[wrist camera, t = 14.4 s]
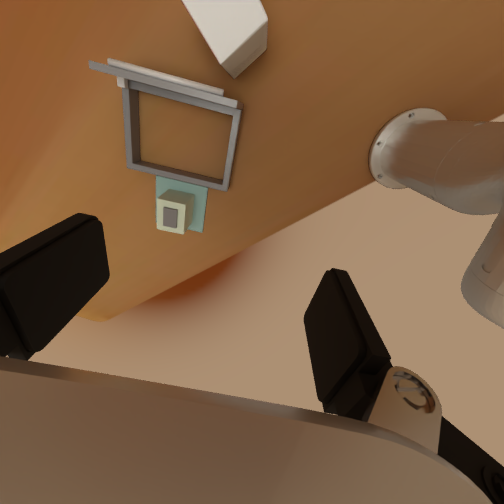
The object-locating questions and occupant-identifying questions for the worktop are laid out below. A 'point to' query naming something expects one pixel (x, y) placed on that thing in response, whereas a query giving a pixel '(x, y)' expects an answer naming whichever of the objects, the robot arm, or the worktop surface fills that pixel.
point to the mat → (198, 190)
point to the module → (175, 211)
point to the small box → (231, 30)
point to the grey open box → (176, 85)
